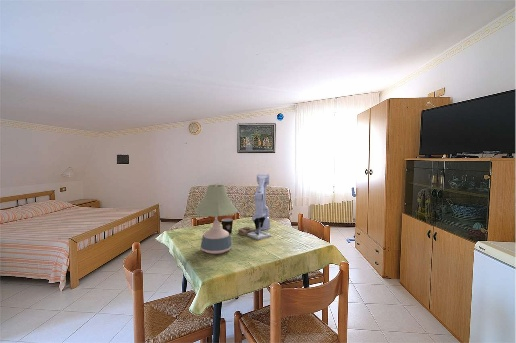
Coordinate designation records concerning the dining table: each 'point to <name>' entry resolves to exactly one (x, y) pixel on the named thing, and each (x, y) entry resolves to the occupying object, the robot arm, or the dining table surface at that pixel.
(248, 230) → the hitch block
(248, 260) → the dining table surface
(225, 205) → the desk lamp
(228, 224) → the coffee mug
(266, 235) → the tray
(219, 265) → the dining table surface
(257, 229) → the pin
